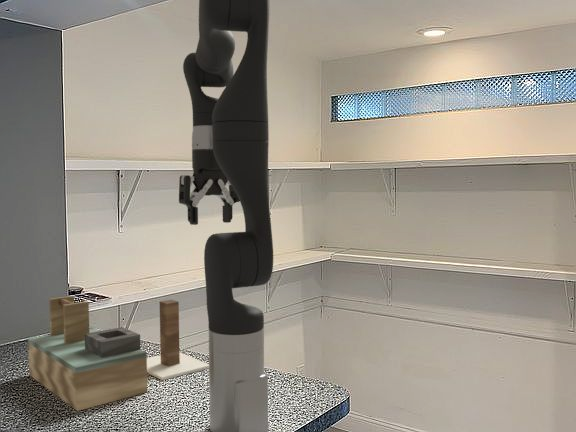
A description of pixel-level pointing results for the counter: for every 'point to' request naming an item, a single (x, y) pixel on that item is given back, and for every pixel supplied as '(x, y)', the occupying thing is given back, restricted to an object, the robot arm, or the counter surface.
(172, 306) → the walnut key
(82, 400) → the wooden socket fixture
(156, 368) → the mat
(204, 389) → the counter surface
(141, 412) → the counter surface
